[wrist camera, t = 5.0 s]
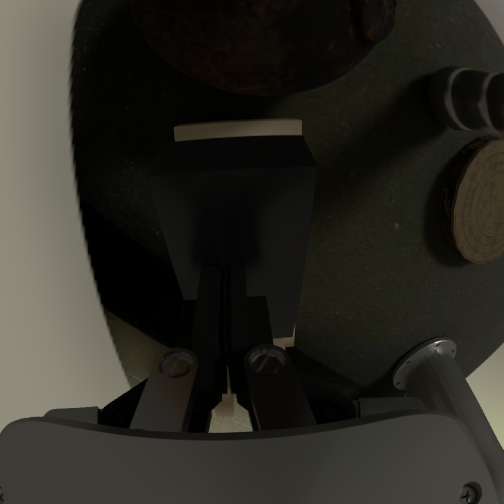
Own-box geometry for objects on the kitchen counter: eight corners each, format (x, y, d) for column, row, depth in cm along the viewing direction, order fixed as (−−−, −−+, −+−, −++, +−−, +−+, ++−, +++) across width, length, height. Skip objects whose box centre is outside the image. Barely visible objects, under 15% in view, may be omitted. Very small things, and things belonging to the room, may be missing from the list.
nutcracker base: (290, 328, 36) (305, 411, 25) (208, 332, 35) (200, 416, 25) (295, 118, 24) (336, 132, 14) (181, 124, 24) (136, 143, 13)
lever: (276, 369, 27) (279, 401, 25) (224, 371, 27) (224, 404, 25) (297, 125, 11) (317, 167, 8) (168, 132, 11) (147, 176, 8)
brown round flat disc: (427, 156, 26) (443, 163, 23) (511, 122, 23) (527, 127, 20) (444, 270, 33) (456, 283, 30) (518, 226, 30) (530, 235, 28)
